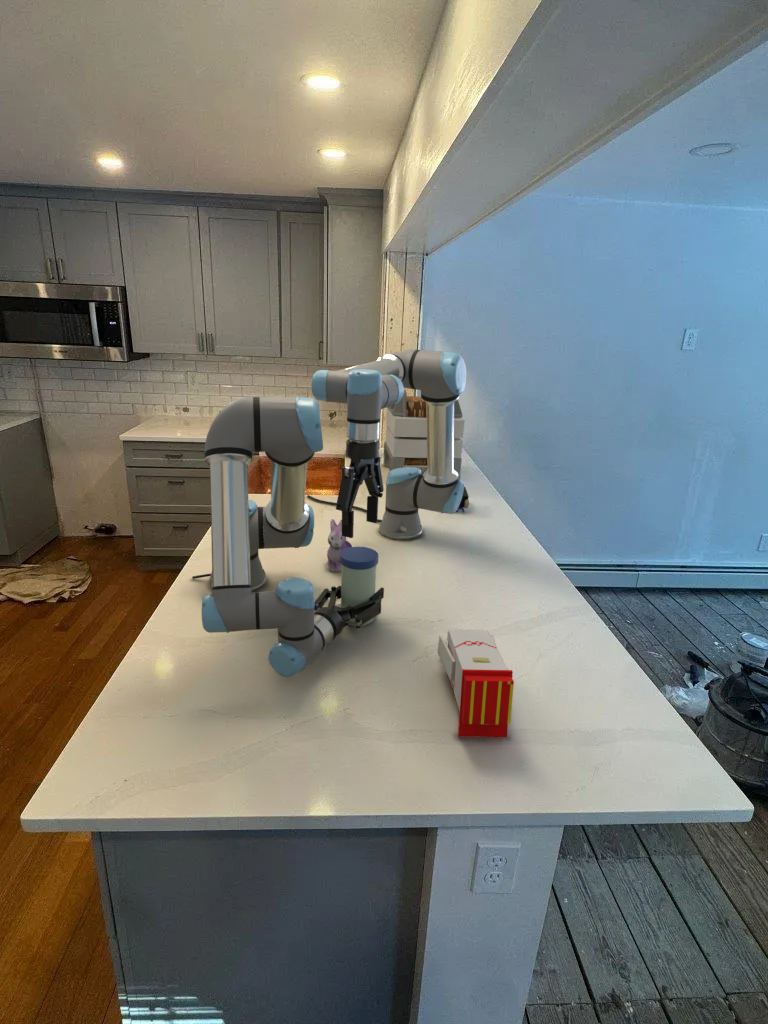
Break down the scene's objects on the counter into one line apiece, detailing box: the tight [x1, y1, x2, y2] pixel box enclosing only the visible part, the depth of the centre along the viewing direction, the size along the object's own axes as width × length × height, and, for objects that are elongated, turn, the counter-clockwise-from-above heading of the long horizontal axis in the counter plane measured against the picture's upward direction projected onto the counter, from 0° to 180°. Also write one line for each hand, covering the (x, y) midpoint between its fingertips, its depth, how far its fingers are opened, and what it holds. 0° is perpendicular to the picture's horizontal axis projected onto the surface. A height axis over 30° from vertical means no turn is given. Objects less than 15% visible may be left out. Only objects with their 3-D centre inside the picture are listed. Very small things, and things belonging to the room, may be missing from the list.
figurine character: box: [455, 486, 470, 513], centre depth 227 cm, size 7×8×15 cm
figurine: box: [326, 518, 353, 572], centre depth 171 cm, size 9×10×15 cm
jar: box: [340, 565, 377, 627], centre depth 142 cm, size 9×9×17 cm
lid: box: [340, 546, 379, 570], centre depth 140 cm, size 9×9×2 cm
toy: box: [437, 628, 515, 738], centre depth 117 cm, size 12×13×30 cm
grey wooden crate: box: [383, 389, 465, 480], centre depth 268 cm, size 34×33×41 cm
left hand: (366, 588), depth 147 cm, fingers closed on jar, 9 cm apart
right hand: (360, 529), depth 137 cm, fingers open, 11 cm apart
